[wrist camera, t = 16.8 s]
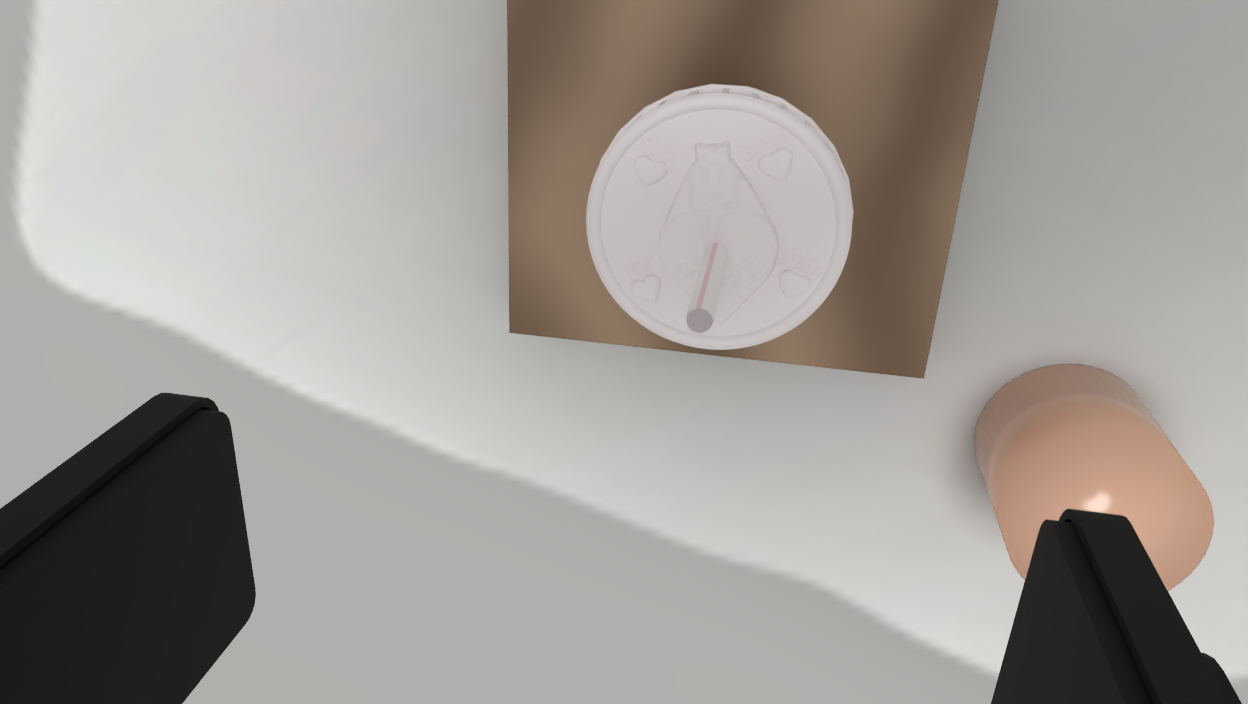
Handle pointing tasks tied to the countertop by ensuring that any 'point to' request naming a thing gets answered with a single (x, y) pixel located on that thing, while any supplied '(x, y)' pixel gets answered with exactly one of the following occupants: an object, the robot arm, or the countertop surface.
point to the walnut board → (779, 65)
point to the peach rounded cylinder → (1089, 466)
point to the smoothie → (720, 217)
